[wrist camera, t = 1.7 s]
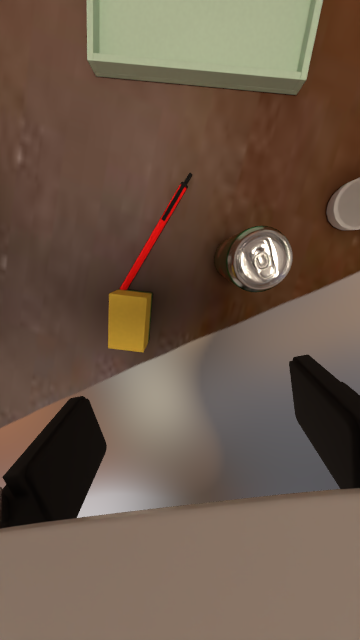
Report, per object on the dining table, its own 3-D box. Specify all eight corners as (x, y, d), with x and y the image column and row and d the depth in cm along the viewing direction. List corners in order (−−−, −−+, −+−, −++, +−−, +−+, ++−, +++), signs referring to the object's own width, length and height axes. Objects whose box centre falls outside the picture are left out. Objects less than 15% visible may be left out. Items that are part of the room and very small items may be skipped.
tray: (96, 76, 24) (87, 59, 22) (95, -62, 21) (85, -96, 19) (296, 95, 23) (306, 79, 21) (324, -43, 20) (339, -76, 18)
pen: (194, 177, 26) (194, 174, 25) (115, 309, 31) (113, 311, 30) (187, 172, 26) (187, 169, 25) (110, 306, 31) (107, 307, 30)
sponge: (118, 337, 32) (107, 348, 28) (119, 288, 30) (108, 293, 26) (149, 340, 32) (143, 352, 28) (152, 292, 30) (146, 297, 26)
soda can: (244, 229, 27) (283, 209, 15) (260, 267, 28) (308, 274, 17) (206, 250, 28) (216, 246, 16) (224, 286, 29) (245, 305, 17)
